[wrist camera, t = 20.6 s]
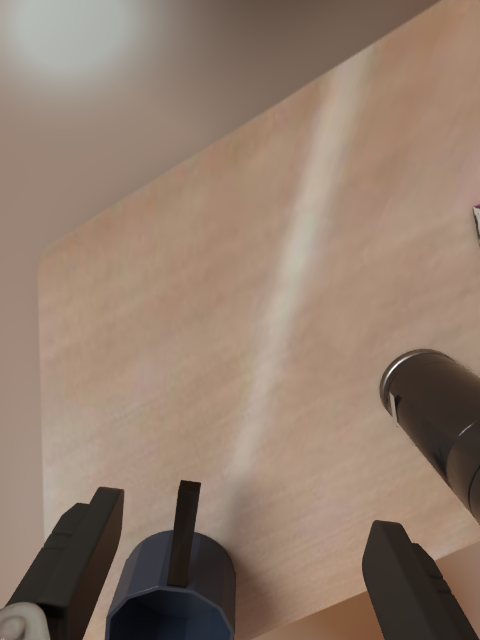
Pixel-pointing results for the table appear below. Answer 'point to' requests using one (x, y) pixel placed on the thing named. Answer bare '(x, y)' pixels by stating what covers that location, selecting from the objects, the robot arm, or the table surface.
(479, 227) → the candy bar box
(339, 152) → the table surface
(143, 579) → the pan
